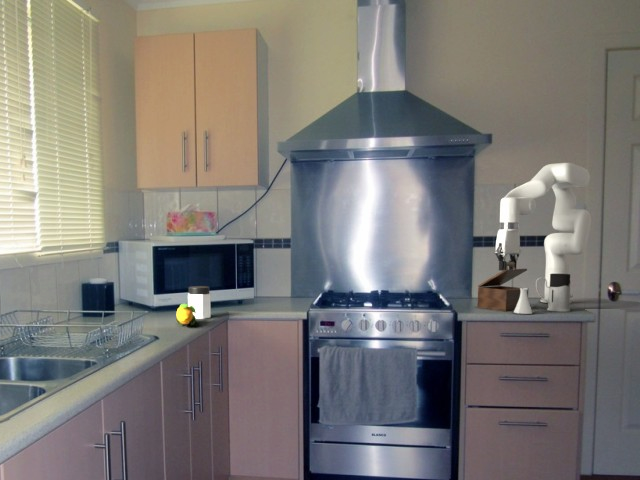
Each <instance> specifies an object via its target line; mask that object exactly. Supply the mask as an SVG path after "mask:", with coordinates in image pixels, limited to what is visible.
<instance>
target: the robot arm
mask: <svg viewBox="0 0 640 480" xmlns="http://www.w3.org/2000/svg"><path fill="white" fill-rule="evenodd" d="M590 179H591V175H590V172H589V169H587V168H585V167H583V166H581V165H578V164H575V163H573V162H558V163H549V164H545V165H544V166H543V167H542V168H541V169H540V170H539V171H538V172H537V173H536V174H535V175H534V176H533V177H532V178H531V179H530V180H529V181H527V182H524V183H523V184H521V185H519V186H517V187H515V188H513V189H511V190H510V191H509V192H508V193H507V194H506V195H505V196H504V197H502V198H501V199H500V203H499V204H500V205H499V229H498V230H497V235H496V240H495V251H494V254H495V256H496V259H497V261H498V271H500V272H502V271H503V270H506V262H507V260H506V259H507V256H509V260H508V262H514V263H515V265H514V266H515V269H517V264H518V263H517V261H518V260H519V257H520V255H521V254H522V250H521V248H520V247H521V238H520V237H521V236H520V235H521V234H520V216H528V215H531V214H532V213H534V212H535V211H536V208H537V203H536V200H535V199H538V198H540V197H543V196H545V195H546V194H547V193H548V192H549V191H550V189H552V191H553V193H554V196H555V203H554V208H553V214H552V222H551V226H552V228H553V229H554V230H555V231H562V232H552V233H550V234H548V235H546V237H545V238H544V242H543V247H544V253H545V271H544V272H545V274H544V278H545V279H546V281H547V287H549V286H550V274H570V270H569V269H570V263H569V260H568V258H567V257H566V255H570V256H571V255H573V256H575V255H576V256H577V255H582V254H583V253H584V252H585V251H586V249H587V245H588V242H589V236H590V232H591V225H592V217H591V213H590V212H589V211H588V210H586V209H584V208H576V207H577V203H578V202H577V201H578V200H577V196H576V194H575V193H574V191H572V189H582V188H584V187H586V186H588V185H589V183H590V181H591V180H590ZM563 231H566V232H563ZM570 231H571V232H570ZM509 269H513V268H512V266H508V270H509ZM547 287H546V282H545V281H544V292H543V293H544V294H543V295H544V296H543V298H544V299H545V300H547V301H548V302H549V288H547ZM573 297H574V294H573V293H571V292H570V303H569V304H571V303H572V300H571V298H573ZM544 299H542V298H541V299H540V303H542V304H543V303H544V304H548V303H547V302H546V301H545V300H544Z"/></svg>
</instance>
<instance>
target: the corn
mask: <svg viewBox="0 0 640 480" xmlns="http://www.w3.org/2000/svg"><path fill="white" fill-rule="evenodd" d="M193 312H194V313H195V314H196V310H195V308H194V307H193V306H192V305H191V306H190V307H189V306H188V303H181V304H180V305H179V307H178V308H177V311H176V314H175V316H176V322H177V323H178V324H179V325H180V326H184V325H189V324H190V326H193V325H194V324H195V322H196V320H197V319H196V318H195V315H193Z"/></svg>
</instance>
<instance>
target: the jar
mask: <svg viewBox="0 0 640 480" xmlns="http://www.w3.org/2000/svg"><path fill="white" fill-rule="evenodd" d="M187 304H188V306H189V307H190V306H191V305H192V306H193V307H194V308H195V310H196V314H195V313H194V312H193V315H195V318H196V319H195V320H199V319H200V320H204V319H211V317H212V316H211V315H212V314H211V313H212V311H211V293H210V286H206V285H194V286H188V293H187Z"/></svg>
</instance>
